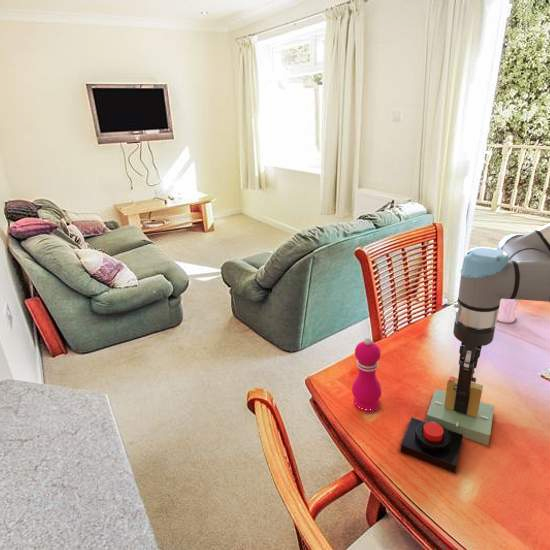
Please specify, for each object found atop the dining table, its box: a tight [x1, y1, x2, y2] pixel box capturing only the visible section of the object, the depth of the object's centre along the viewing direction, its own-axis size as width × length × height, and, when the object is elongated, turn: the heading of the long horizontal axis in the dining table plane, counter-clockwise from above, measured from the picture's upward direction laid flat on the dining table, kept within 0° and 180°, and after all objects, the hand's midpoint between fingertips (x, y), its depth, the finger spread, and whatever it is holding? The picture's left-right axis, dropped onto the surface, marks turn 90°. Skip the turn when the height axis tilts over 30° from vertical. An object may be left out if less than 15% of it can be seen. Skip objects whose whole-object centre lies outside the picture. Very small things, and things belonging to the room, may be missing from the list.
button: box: [423, 422, 444, 442], centre depth 81 cm, size 4×4×2 cm
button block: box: [400, 417, 464, 474], centre depth 82 cm, size 11×9×4 cm
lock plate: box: [425, 388, 495, 446], centre depth 88 cm, size 13×11×3 cm
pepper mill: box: [351, 336, 382, 413], centre depth 92 cm, size 7×7×20 cm
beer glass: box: [497, 299, 521, 324], centre depth 123 cm, size 7×7×15 cm
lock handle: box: [444, 375, 484, 418], centre depth 86 cm, size 7×2×8 cm, turn 57°
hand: (461, 407), depth 87 cm, fingers closed on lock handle, 2 cm apart
